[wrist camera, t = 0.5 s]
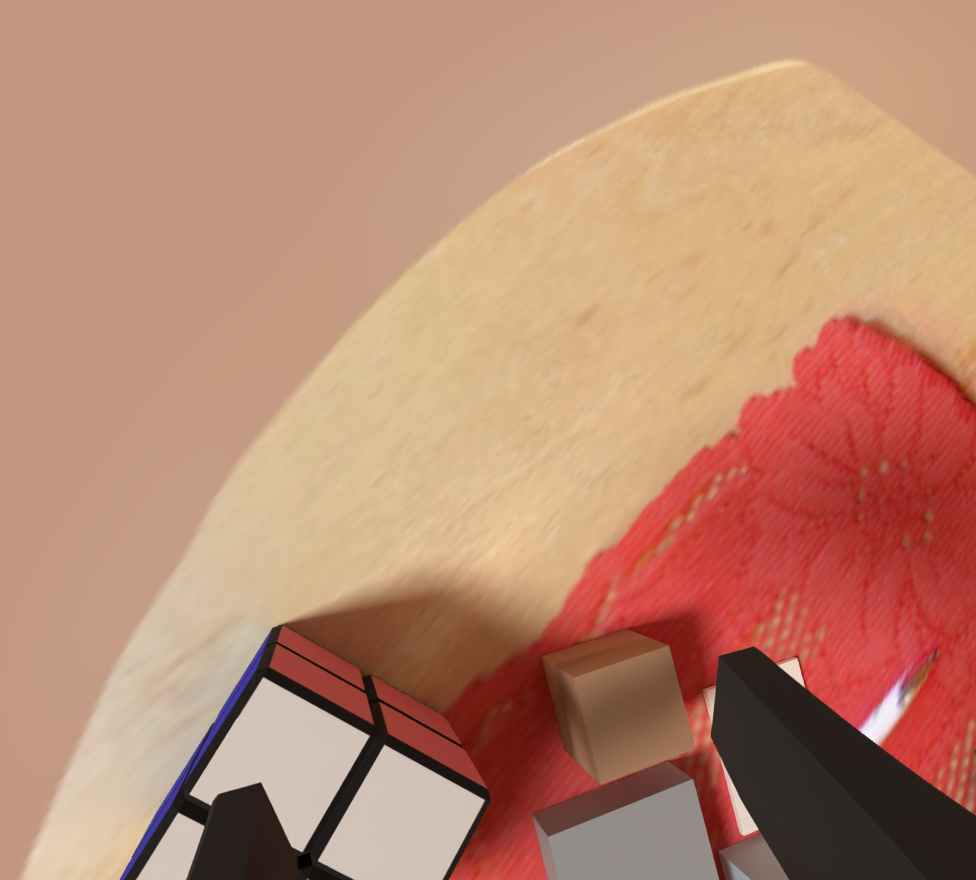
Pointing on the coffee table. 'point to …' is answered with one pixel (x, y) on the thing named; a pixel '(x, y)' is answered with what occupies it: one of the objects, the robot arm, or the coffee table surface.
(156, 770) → the coffee table surface
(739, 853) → the gray block
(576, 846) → the slate base
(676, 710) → the walnut block
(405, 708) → the puzzle cube
